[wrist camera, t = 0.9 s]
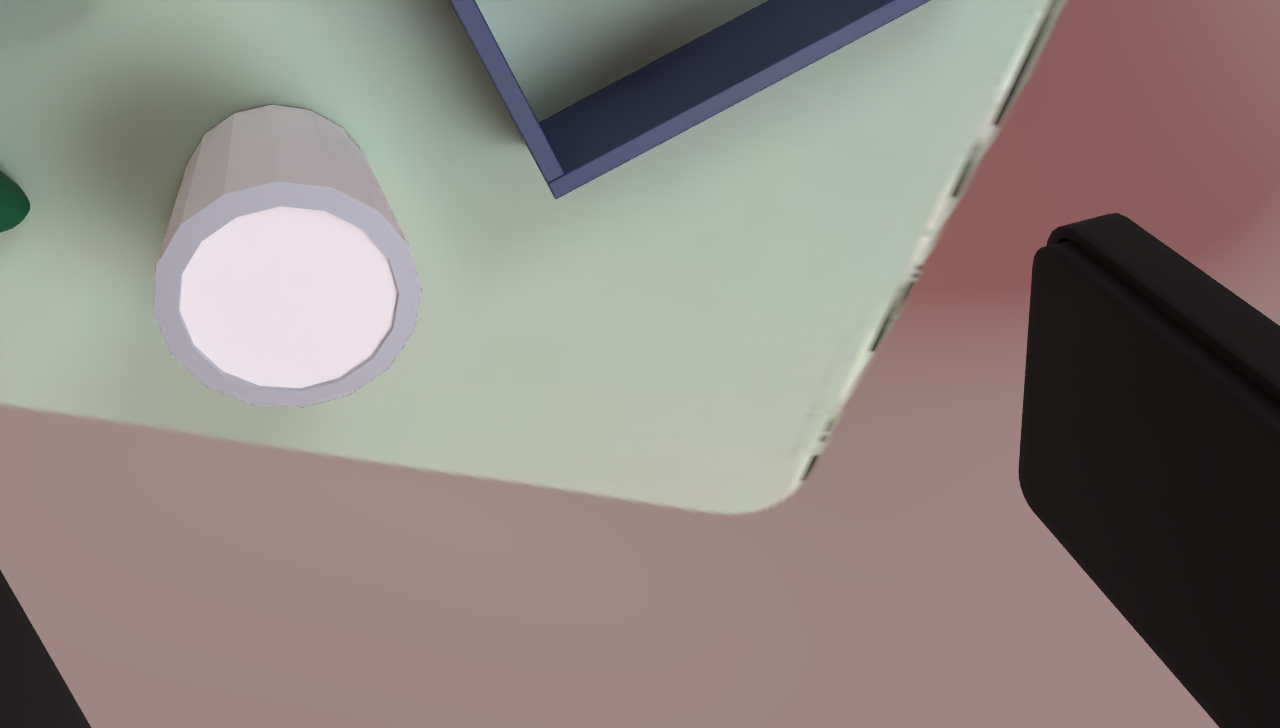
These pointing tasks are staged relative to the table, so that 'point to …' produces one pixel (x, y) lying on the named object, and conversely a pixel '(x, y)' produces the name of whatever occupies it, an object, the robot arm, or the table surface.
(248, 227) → the white cup
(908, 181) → the table surface
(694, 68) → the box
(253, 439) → the table surface
